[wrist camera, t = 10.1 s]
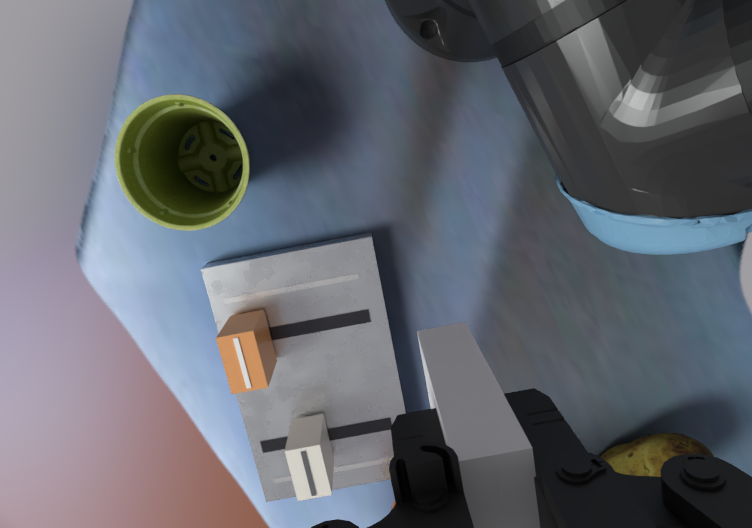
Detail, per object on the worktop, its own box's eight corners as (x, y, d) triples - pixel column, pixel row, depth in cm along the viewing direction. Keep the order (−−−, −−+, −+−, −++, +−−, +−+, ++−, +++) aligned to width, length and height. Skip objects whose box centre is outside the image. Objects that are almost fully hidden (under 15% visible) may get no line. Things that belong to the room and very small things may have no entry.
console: (371, 232, 49) (371, 237, 47) (415, 461, 55) (417, 474, 53) (207, 263, 49) (200, 269, 47) (269, 488, 55) (266, 502, 53)
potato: (550, 457, 55) (581, 512, 47) (667, 398, 54) (719, 445, 46) (583, 516, 57) (618, 578, 49) (696, 461, 56) (751, 516, 48)
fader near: (263, 309, 48) (253, 331, 43) (277, 360, 49) (268, 387, 44) (230, 315, 48) (215, 338, 43) (244, 367, 49) (231, 394, 44)
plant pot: (139, 176, 47) (92, 189, 38) (187, 77, 45) (148, 67, 36) (237, 230, 48) (212, 253, 40) (288, 136, 46) (272, 140, 38)
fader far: (323, 413, 50) (319, 445, 45) (334, 459, 52) (331, 495, 47) (291, 419, 50) (284, 451, 45) (303, 465, 52) (297, 501, 47)
